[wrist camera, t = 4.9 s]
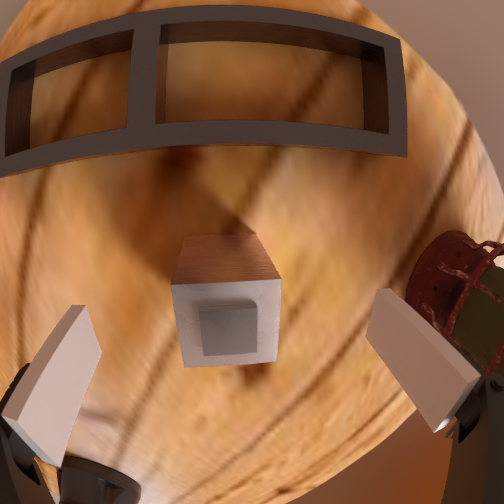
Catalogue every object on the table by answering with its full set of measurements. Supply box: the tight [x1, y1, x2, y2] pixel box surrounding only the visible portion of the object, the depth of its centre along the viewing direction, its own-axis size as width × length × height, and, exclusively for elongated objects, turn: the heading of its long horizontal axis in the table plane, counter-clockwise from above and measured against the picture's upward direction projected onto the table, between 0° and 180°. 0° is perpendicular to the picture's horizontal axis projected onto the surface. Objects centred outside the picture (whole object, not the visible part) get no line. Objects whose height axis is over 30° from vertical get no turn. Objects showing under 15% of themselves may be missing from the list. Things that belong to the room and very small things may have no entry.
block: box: [171, 233, 282, 367], centre depth 15 cm, size 4×4×7 cm
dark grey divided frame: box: [0, 5, 407, 178], centre depth 12 cm, size 26×8×3 cm, turn 90°
